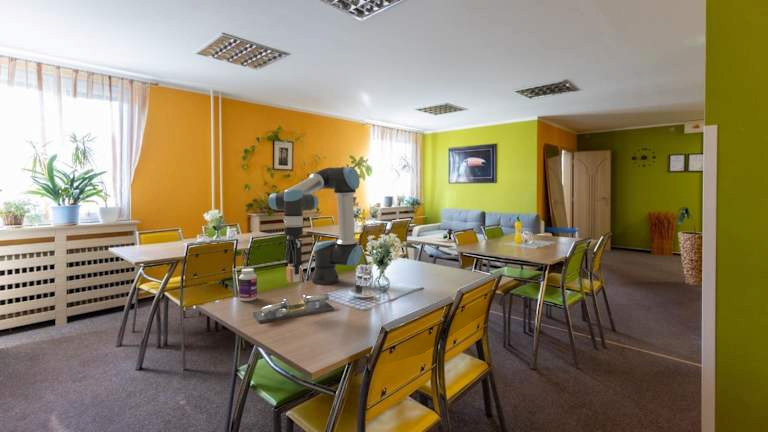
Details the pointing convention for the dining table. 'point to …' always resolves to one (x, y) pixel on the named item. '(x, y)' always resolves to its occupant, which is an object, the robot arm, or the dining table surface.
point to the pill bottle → (247, 285)
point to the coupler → (290, 274)
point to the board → (294, 311)
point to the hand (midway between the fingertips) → (294, 280)
